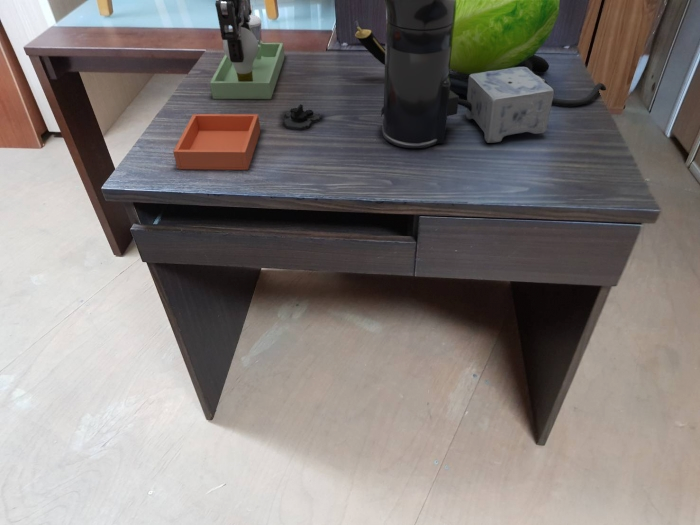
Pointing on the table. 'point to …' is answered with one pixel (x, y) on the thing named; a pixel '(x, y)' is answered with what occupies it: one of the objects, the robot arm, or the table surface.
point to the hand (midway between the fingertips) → (241, 53)
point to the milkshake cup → (256, 30)
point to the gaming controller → (535, 65)
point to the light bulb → (249, 55)
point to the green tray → (263, 77)
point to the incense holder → (509, 102)
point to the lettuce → (499, 33)
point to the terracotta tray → (218, 142)
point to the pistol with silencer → (378, 52)
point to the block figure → (300, 118)
